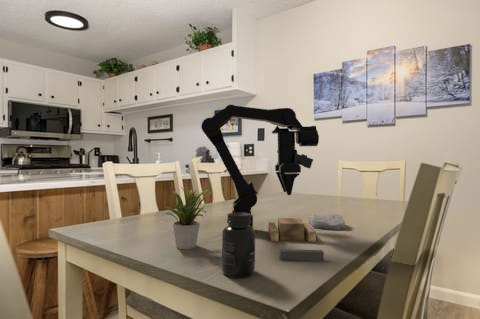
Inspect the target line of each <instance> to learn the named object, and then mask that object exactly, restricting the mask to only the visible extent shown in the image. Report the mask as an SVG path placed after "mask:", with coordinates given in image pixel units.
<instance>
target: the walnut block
mask: <svg viewBox="0 0 480 319" xmlns="http://www.w3.org/2000/svg"><path fill="white" fill-rule="evenodd" d="M304 223H305V222H304V221H303V220H302V219H301V217H300V218H299V217H297V218H295V217H292V218H291V217H288V218H287V217H278V218H277V229H278V231H279V236H278V239H279V240H280V241H305V237H304Z"/></svg>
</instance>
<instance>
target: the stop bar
mask: <svg viewBox="0 0 480 319" xmlns="http://www.w3.org/2000/svg"><path fill="white" fill-rule="evenodd" d="M324 253H325V252H324V250H323V249H297V248H296V249H295V248H293V249H290V248H289V249H285V248H282V249H281V248H280V249H279V259H280V261H281V260H282V261H283V260H284V261H324Z"/></svg>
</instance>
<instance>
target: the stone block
mask: <svg viewBox="0 0 480 319" xmlns="http://www.w3.org/2000/svg"><path fill="white" fill-rule="evenodd" d="M308 224H309V225H310V226H311V225H312V226H311V227H314V228H313V229H323V228H324V229H325V230H333V229H335V230H336V231H343V230H342V229H344V230H346V222H345V219H344V217H343V216H342V215H341V214H337V213H331V214H326V215H317V214H311V215H310V216H309V217H308ZM324 229H323V230H324ZM335 230H334V231H335Z"/></svg>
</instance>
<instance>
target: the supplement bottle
mask: <svg viewBox="0 0 480 319" xmlns="http://www.w3.org/2000/svg"><path fill="white" fill-rule="evenodd" d="M251 215H252V213H251V214H249V213H243V212H234V213H232V212H229V213H228V212H227V220H226V223H227V224H228V225H227V226H225V227H224V228H223V230H222V232H221V233H222V235H221V236H222V239H221V241H222V242H221V272H222V273H223V274H224V275H225V276H227V277H229V278H238V279H240V278H247V277H251V276H252V275H253V274H254V273H255V270H256V230H255V229H254V228H252V227H251V226H250V223H251Z"/></svg>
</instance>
